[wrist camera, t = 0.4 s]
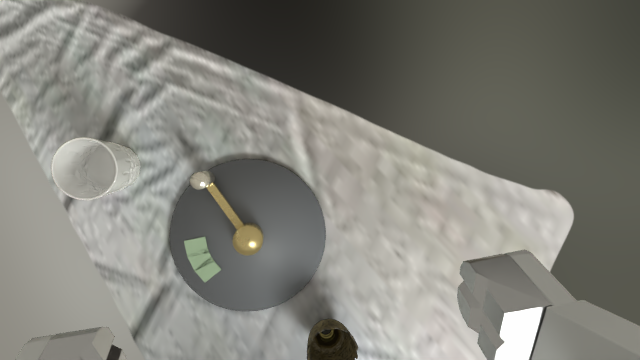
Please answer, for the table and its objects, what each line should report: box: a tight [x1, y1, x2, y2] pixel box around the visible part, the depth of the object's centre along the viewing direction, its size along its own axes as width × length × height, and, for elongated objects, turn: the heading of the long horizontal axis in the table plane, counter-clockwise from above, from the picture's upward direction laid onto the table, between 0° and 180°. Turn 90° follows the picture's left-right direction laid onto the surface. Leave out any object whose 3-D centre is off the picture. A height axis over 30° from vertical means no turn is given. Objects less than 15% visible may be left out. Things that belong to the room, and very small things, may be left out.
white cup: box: [51, 137, 141, 200], centre depth 53 cm, size 8×8×10 cm
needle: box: [190, 171, 264, 256], centre depth 56 cm, size 14×4×6 cm, turn 35°
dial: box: [170, 159, 326, 311], centre depth 60 cm, size 24×24×1 cm
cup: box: [307, 319, 358, 360], centre depth 59 cm, size 8×7×8 cm
